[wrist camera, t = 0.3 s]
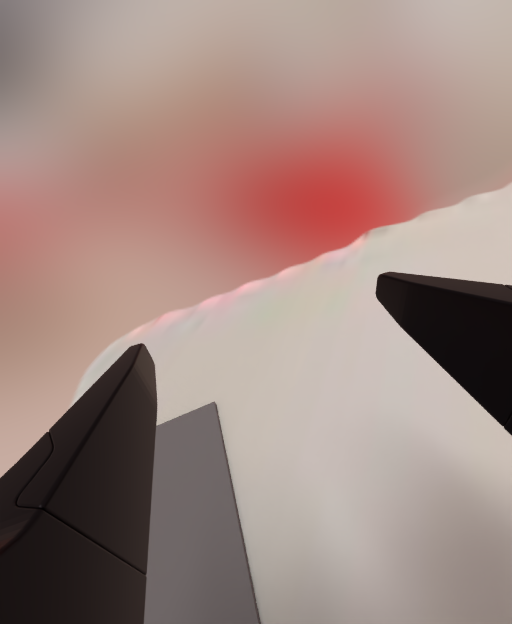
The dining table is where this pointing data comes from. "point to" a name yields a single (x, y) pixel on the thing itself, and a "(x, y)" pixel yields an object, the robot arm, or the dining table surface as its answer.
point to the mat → (195, 529)
